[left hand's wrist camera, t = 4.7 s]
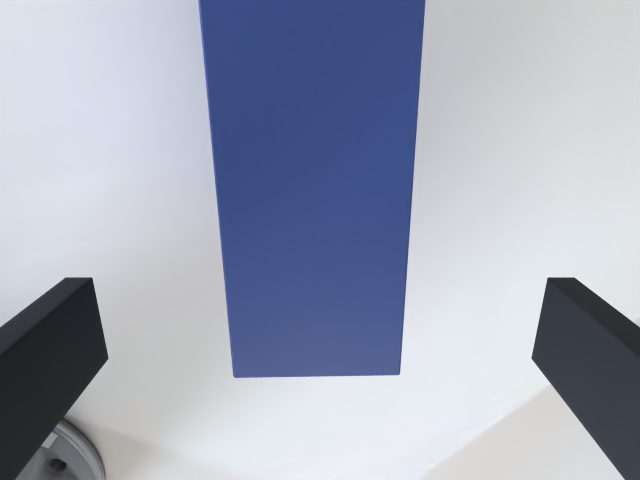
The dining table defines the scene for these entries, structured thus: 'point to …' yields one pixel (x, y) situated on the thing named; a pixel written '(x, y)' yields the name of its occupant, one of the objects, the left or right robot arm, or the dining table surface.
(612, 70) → the dining table surface
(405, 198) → the box
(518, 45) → the dining table surface
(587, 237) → the dining table surface
